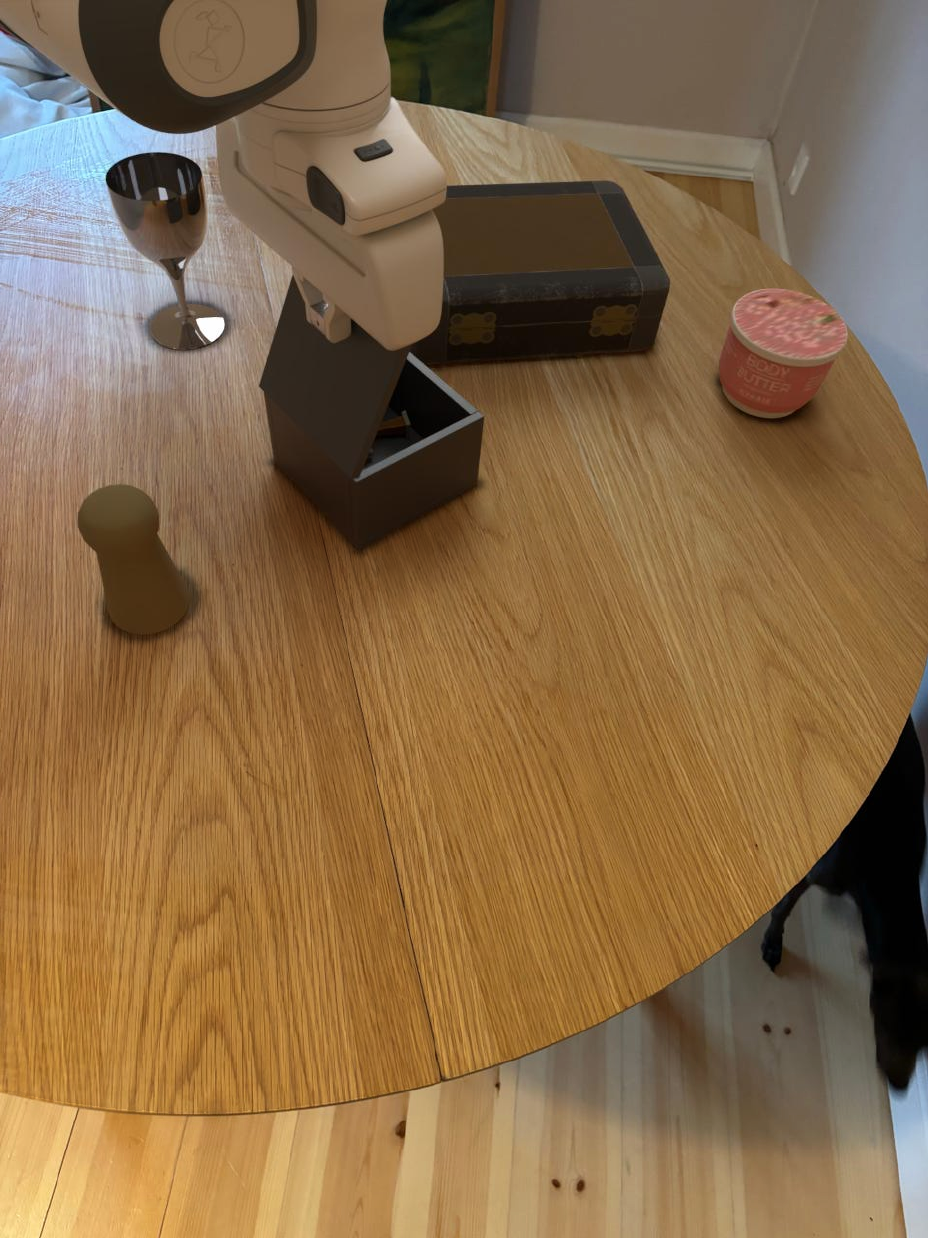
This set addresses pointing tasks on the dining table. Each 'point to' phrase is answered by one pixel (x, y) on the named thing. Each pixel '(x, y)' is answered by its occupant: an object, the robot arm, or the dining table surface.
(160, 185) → the wine glass
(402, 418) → the wooden post with brackets
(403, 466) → the box
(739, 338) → the container
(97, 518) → the pepper shaker
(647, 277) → the jewelry box
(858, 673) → the dining table surface
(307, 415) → the lid
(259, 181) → the robot arm
